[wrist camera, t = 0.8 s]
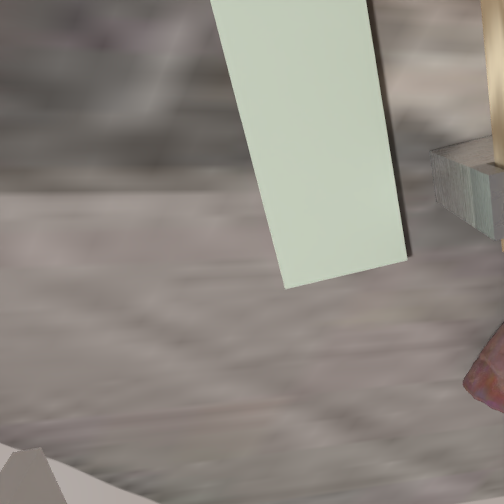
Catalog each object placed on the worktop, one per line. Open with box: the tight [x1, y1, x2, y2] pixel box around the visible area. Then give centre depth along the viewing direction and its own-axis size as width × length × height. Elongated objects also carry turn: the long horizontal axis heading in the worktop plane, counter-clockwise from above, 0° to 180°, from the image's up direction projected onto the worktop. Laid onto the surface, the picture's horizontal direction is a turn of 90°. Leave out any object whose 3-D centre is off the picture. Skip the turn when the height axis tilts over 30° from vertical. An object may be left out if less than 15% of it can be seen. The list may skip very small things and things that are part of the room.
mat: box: [210, 0, 407, 289], centre depth 33 cm, size 32×10×1 cm, turn 15°
